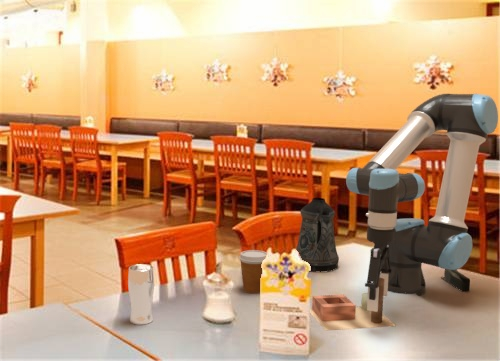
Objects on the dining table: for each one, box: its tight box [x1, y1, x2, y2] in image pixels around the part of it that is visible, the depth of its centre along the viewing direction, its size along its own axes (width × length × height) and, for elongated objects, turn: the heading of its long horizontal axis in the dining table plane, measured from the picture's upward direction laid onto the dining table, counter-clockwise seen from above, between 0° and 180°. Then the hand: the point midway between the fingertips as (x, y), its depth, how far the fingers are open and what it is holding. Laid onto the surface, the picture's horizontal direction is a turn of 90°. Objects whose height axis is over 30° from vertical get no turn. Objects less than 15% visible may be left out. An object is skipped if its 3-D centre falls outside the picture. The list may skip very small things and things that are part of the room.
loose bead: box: [360, 292, 368, 311], centre depth 180 cm, size 4×4×4 cm
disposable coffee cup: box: [238, 249, 268, 294], centre depth 197 cm, size 10×10×12 cm
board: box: [309, 294, 397, 331], centre depth 172 cm, size 20×16×5 cm
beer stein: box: [295, 197, 340, 273], centre depth 224 cm, size 16×19×25 cm
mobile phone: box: [441, 269, 471, 292], centre depth 207 cm, size 5×3×15 cm
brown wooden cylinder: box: [371, 278, 385, 323], centre depth 169 cm, size 3×3×12 cm
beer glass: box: [127, 263, 155, 326], centre depth 168 cm, size 7×7×15 cm
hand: (377, 303), depth 169 cm, fingers open, 13 cm apart
